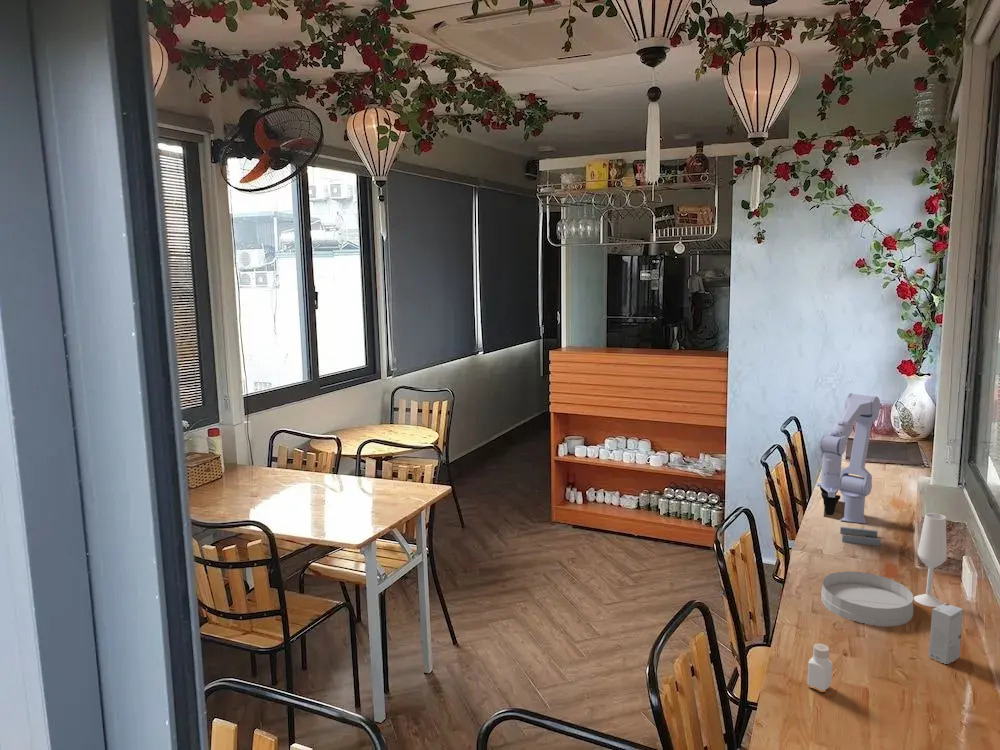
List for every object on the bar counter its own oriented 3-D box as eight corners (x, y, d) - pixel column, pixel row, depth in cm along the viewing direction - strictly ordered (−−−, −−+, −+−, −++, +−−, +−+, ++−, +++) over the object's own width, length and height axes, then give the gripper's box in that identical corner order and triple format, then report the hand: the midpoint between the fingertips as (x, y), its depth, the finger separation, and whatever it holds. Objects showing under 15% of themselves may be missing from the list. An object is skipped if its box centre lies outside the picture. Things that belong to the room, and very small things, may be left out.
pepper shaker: (805, 687, 161) (808, 647, 159) (813, 679, 164) (816, 640, 162) (824, 695, 158) (827, 654, 156) (831, 687, 161) (834, 647, 159)
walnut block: (828, 513, 246) (829, 499, 245) (844, 517, 242) (845, 502, 242) (823, 516, 242) (824, 501, 242) (839, 520, 239) (840, 505, 238)
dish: (901, 592, 205) (902, 575, 204) (923, 632, 184) (925, 613, 183) (815, 584, 210) (816, 567, 210) (827, 621, 189) (828, 603, 188)
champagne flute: (945, 608, 195) (953, 522, 191) (916, 604, 197) (923, 519, 193) (939, 597, 201) (946, 513, 197) (911, 593, 203) (918, 510, 199)
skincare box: (947, 666, 168) (951, 616, 166) (926, 657, 172) (931, 608, 170) (960, 657, 172) (965, 609, 170) (940, 649, 175) (944, 601, 173)
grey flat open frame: (840, 532, 247) (840, 526, 246) (876, 536, 243) (877, 530, 243) (842, 541, 239) (842, 535, 239) (880, 545, 235) (880, 540, 235)
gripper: (816, 464, 249) (814, 503, 251) (819, 477, 235) (816, 517, 238) (839, 466, 246) (836, 505, 249) (843, 479, 233) (840, 520, 235)
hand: (828, 511), depth 243 cm, fingers closed on walnut block, 5 cm apart
